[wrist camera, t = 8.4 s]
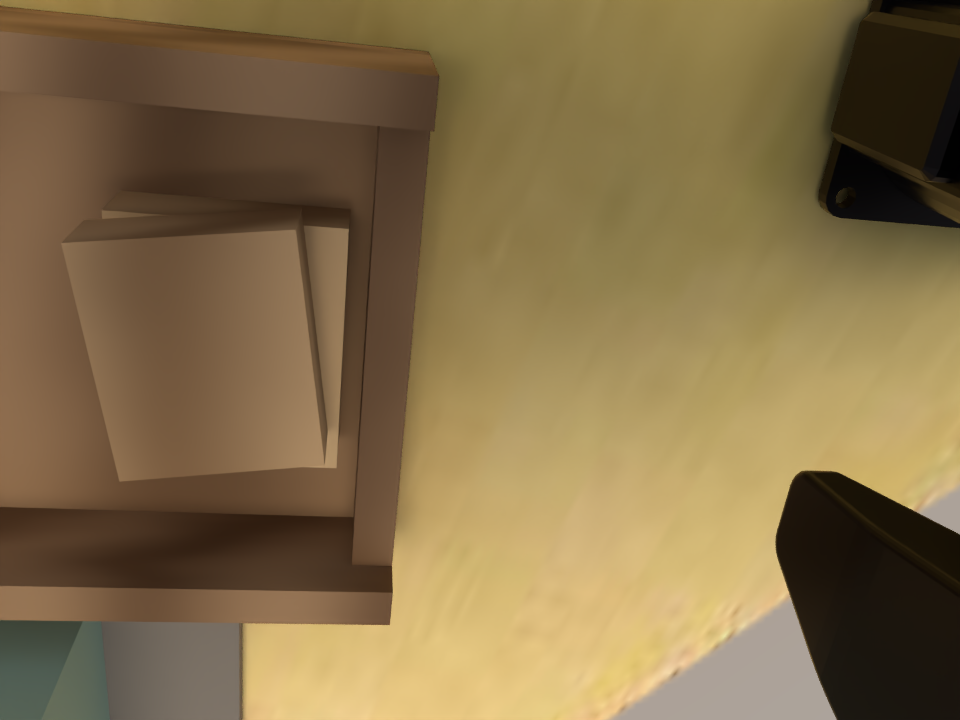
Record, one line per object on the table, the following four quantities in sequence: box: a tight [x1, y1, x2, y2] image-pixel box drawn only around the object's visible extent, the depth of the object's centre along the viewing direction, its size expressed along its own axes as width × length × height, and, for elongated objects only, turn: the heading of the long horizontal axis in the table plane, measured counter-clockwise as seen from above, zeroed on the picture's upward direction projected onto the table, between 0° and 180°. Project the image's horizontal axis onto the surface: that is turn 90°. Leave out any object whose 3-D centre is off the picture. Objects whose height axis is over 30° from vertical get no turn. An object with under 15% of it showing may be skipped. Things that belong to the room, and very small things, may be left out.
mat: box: [101, 621, 242, 720], centre depth 25 cm, size 10×9×1 cm
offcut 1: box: [61, 208, 328, 482], centre depth 19 cm, size 4×5×2 cm
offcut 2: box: [102, 191, 351, 468], centre depth 20 cm, size 5×6×2 cm
